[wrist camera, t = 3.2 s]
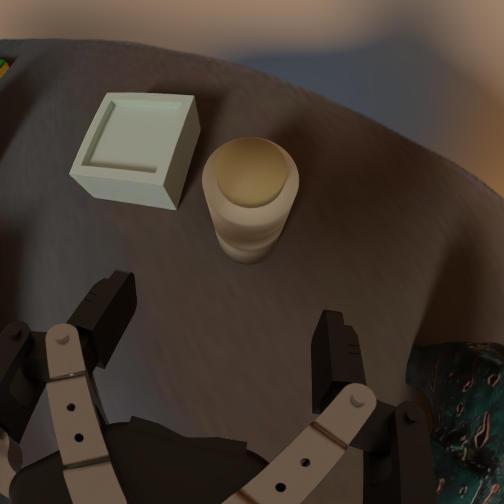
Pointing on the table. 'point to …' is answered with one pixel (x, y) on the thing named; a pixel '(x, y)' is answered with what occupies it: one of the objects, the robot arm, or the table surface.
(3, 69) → the dish sponge
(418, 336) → the table surface
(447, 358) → the dark green curved piece
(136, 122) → the pedestal
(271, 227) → the post
